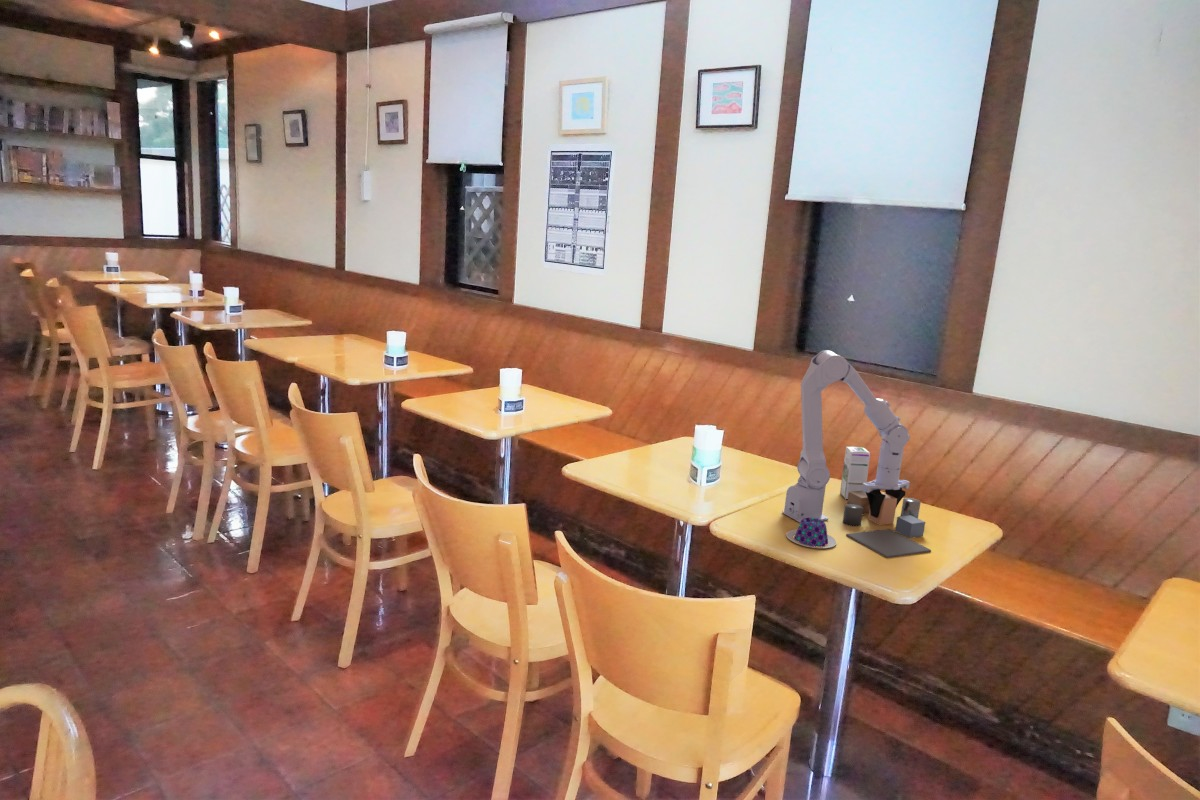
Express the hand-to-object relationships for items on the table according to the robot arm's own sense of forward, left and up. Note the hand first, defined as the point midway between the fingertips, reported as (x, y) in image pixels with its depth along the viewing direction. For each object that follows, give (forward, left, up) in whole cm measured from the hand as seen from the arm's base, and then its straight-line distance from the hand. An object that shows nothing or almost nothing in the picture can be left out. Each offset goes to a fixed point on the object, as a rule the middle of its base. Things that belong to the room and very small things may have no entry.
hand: (881, 515), depth 211 cm
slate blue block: (+1, -9, -2) cm, 9 cm away
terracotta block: (0, 0, -2) cm, 2 cm away
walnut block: (0, +8, -2) cm, 8 cm away
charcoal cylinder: (-9, +1, -2) cm, 9 cm away
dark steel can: (+9, -1, -2) cm, 9 cm away
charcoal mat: (-10, -13, -2) cm, 16 cm away
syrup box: (+6, +18, -2) cm, 19 cm away
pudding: (-28, -6, -2) cm, 29 cm away
